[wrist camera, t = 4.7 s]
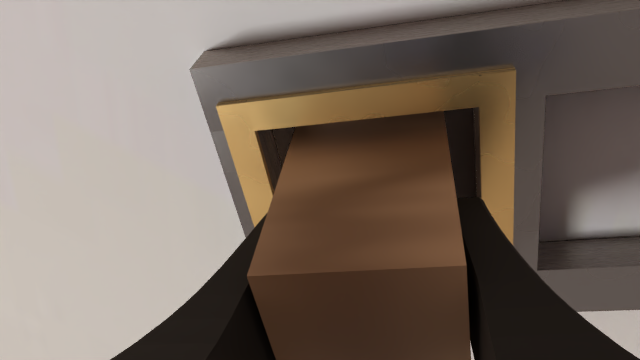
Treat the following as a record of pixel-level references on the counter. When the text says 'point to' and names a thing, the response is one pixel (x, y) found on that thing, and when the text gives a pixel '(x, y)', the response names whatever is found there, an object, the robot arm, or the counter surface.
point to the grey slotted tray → (440, 95)
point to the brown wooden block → (364, 245)
